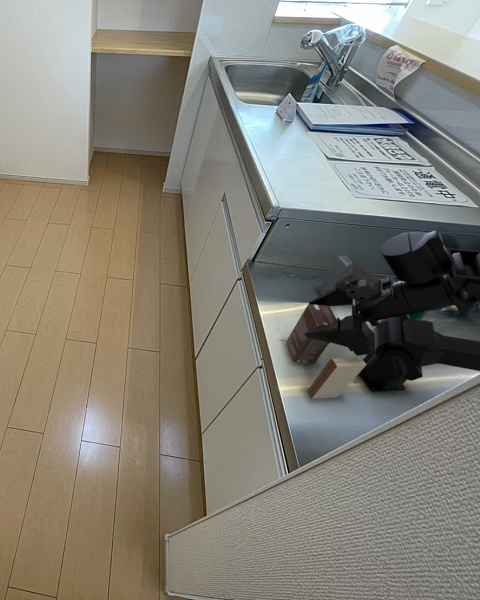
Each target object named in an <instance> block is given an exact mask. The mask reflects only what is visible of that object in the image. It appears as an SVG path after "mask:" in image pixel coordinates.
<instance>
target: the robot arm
mask: <svg viewBox="0 0 480 600" xmlns="http://www.w3.org/2000/svg"><path fill="white" fill-rule="evenodd" d="M379 252H380V254H381V255H382V257H383V258H384V260H385V261H386V264H387V265H388V266H389V268H390V269H391V271H392V273H393V275H394V276H395V277H396V279H397V281H395V279H394V278H393V277H384V278H378V277H377V276H376V275H374V274H373V272H372V271H369V270H367V268H365V267H363V266H361V265H360V264H358V263H357V262H353V261H352V263H351V264H350V265H348V266H347V267H345V268H343V269H342V270H340V271H339V272H337V273H336V275H337V281H336V286H335V287H333V288H332V289H330V290H329V291H327V292H326V293H324V294H322V295H321V294H320V295H319V296H318V297H317V296H316V297H315V298H314V299H312V300H310V301H309V302H308V304H310V305H325V306H330V307H338V306H339V307H340V306H351V315H346V316H344V317H343V318H342V319H340V317H336V320H335V322H334V323H333V324H332V325H329V326H326V327H322V328H318V329H314V330H311V331H308V332H305V333H304V335H305V336H306V338H310V339H315V340H320V341H325V342H329V344H334V345H338V346H340V347H345V348H347V349H348V350H349V351H350V352H353V353H354V354H355V357H361V356H364V357H363V358H362V360H363V361H364V362H365V363H366V366H365V367H364V368H363V369H362V370H361V371H360V373H359V374H358V376H359V377H360V378H361V379H362V381H363V382H364V384H365V385H366V387H367V388H368V389H369V391H370V392H372V393H384V392H386V393H387V392H403V391H405V390H406V386H405V385H404V384H405V383H406V382H407V381H409V382H410V381H411V382H413V381H415V380H418V379H420V378H423V377H424V374H423V368H422V367H426V366H432V365H438V364H439V365H446V366H451V367H456V368H461V369H466V370H472V371H476V372H480V341H479V340H473V339H467V338H461V337H455V336H448V335H444V334H442V333H440V332H438V331H436V330H435V327H434V323H433V321H430V320H425V319H421V320H414V319H410V318H409V314H413V313H418V312H423V311H428V310H430V311H432V310H438V309H444V308H448V307H453V306H455V308H456V310H457V311H458V312H459V314H460V316H467V315H468V314H469V313H470V312H471V310H472V308H473V307H474V306H475V305H476V304H478V303H479V302H480V250H477V249H467V248H458V247H457V248H455V247H446V246H445V244H444V242H443V237H442V235H441V234H440V232H439V230H432V231H430V232H424V231H412V232H403V233H399V234H397V235H394V236H393V237H391V238H389V239H388V240H386V241H385V242H384V243H383V244H382V245H381V247H380V249H379ZM398 316H399V317H400V319H398V318H393V317H398ZM388 318H389V319H388ZM383 319H387V320H385V321H382V322H380V321H381V320H383ZM379 322H380V323H379ZM368 323H369V324H370V326H371V327H372V328H373V327H374V328H375V330H374V329H373V330H374V333H373V330H372V329H371V328H370V326H369V325H368ZM374 334H375V335H374Z"/></svg>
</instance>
